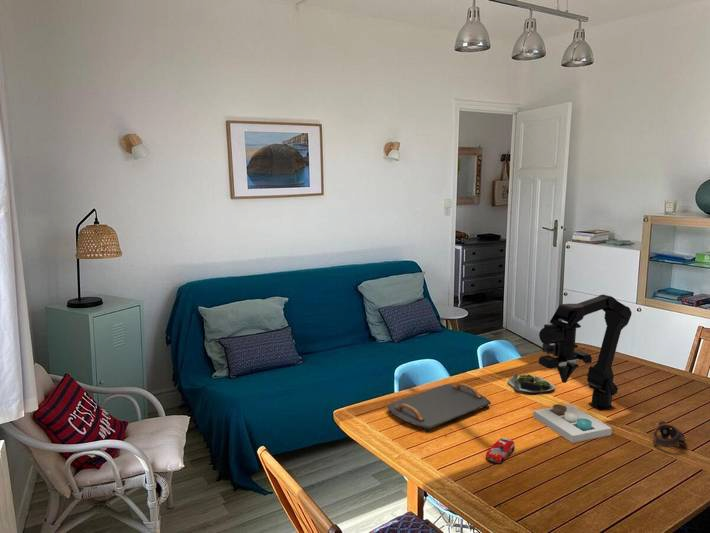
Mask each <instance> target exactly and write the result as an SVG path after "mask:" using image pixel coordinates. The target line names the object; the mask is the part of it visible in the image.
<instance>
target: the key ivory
mask: <svg viewBox="0 0 710 533" xmlns="http://www.w3.org/2000/svg"><path fill="white" fill-rule="evenodd" d="M577 419H579V414H578V413H576V412H572V411H566V412H565V414H564V420H566V421H567V422H569V423H576V422H577Z"/></svg>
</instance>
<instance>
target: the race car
mask: <svg viewBox="0 0 710 533" xmlns="http://www.w3.org/2000/svg"><path fill="white" fill-rule="evenodd" d="M514 451H515V441H514V440H513V439H510V438H506V437H501V438H499V439H498V440H496V441H495V443H493V445H490V448H489V450H487V451H486V454H485V460H487V461H489V462H491V463H494V464H502V463H504V461H505V460H506V459H507V458H508V457H509V456H510V455H511V454H513V453H514Z"/></svg>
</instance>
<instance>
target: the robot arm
mask: <svg viewBox="0 0 710 533" xmlns="http://www.w3.org/2000/svg"><path fill="white" fill-rule="evenodd" d="M601 310H602V311H603V312H604V316H603V317H604V322H605V324H606V327H605V331H604V335H603V339H602V342H601V347H600V351H599V354H598V358H597V362H596V363H595V364H594V365H593V366H592V365H590V366H589V367H588V372H587V375H586V377H587V378H586V381H587V383H588V387H589V389H592V390H593V391H592V395H591V401H590V402H588V404H589V405H590V406H592V407H594V408H595V409H598V410H599V411H607V410H613V409H615V406H614V405H612V399H613V396H615V395H616V394H618V390H619V387H618V386H617V385H616V384H615V382H614V377H615V376H614V372H613V369H612V366H613V361H614V360H615V359H614V357H615V354H616V350H617V347H618V343H619V341H620V340H619V339H620V336H621V334H622V333H621V332H622V330H623V329H624V328H625V327H627V325H628V324H629V322H630V320H631V317H632V310H631V308H630V307H629V306H627V305H625V304H623V303H621V302H620V301H618V300H617V299H616V298H615V297H613V296H611V295H607V294H600V295H598V296H596V297H594V298H590V299H587V300H584V301H581V302H579V303H563V304H559V306H558V307H557V309H556V311H555V312H554V313H553V316H552V317H551V319H550V320H549V323H547V324H544V325H543V328H541V329H540V330H539V333H538V336H539V341H540V342H541V343H542V346H541V349H542V352H543V353H546V355H542V356H540V357H539V358H538V364H539V365H541V366H543V367H545V368H546V369H550V370H551V369H557V371H558V373H559V376H560V380H561V382H562V383H563V384H566V383H567V381H568V380H569V379H570V377H571V375H572V374H573V372H574V371H575V370H576V369H577V368H578V367H579V365H580V364H577V362H576V361H582V362H583V363H584V364H585V365H586V364H591V363H592V361H593V360H592V359H593V357H592V355H591V354H589V353H588V352H585V351H583V350H579V351H578V350H577V351H576V349H577V348H578V346H579V344H576V339H577V338H576V336H577V335H576V334H577V329H579V328H581V327H582V325H580V323H579V322H580V321H582V320H583V319H584V317H586V316H587V315H590V314H592V313H595V312H598V311H601ZM550 354H552V356H551V355H550ZM553 356H554V357H553Z"/></svg>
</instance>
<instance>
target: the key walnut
mask: <svg viewBox="0 0 710 533" xmlns="http://www.w3.org/2000/svg"><path fill="white" fill-rule="evenodd" d="M552 407H553V413H554V414H556V415H558V416H562V415H564V414H565V412H566V411H567V407H566V406H564V405H563V404H559V403H558V404H553V405H552Z"/></svg>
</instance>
